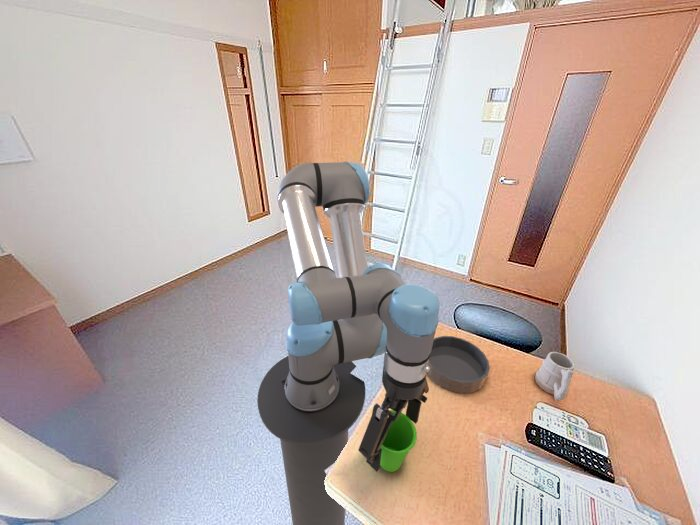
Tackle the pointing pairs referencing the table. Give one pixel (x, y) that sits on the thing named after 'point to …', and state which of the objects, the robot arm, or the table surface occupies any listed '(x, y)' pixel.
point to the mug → (555, 374)
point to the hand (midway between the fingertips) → (393, 440)
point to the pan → (457, 365)
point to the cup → (397, 443)
